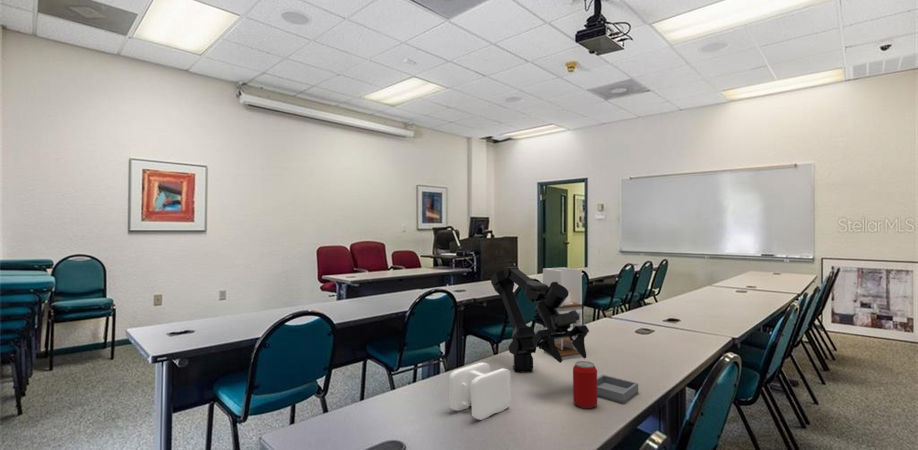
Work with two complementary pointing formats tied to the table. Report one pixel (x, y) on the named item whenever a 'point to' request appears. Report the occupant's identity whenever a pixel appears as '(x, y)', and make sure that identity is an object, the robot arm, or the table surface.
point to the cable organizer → (479, 390)
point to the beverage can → (585, 384)
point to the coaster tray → (616, 389)
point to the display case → (567, 304)
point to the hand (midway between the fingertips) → (573, 359)
